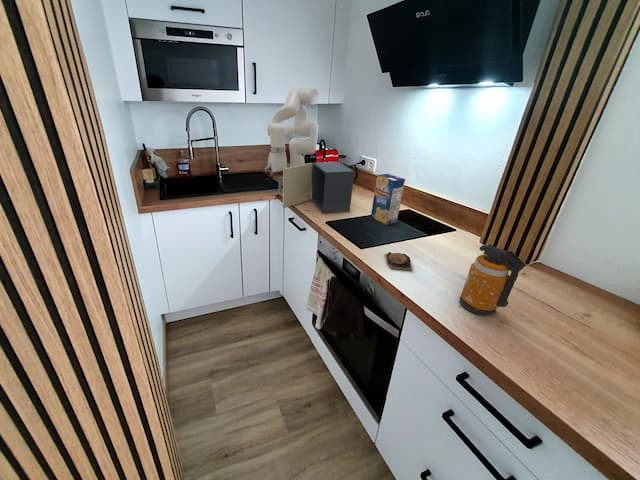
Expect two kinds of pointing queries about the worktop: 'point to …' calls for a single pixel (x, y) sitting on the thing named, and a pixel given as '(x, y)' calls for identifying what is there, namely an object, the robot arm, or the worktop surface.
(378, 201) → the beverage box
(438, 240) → the worktop surface
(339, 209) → the cupboard
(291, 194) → the cupboard door
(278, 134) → the robot arm
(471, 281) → the canister
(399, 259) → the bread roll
